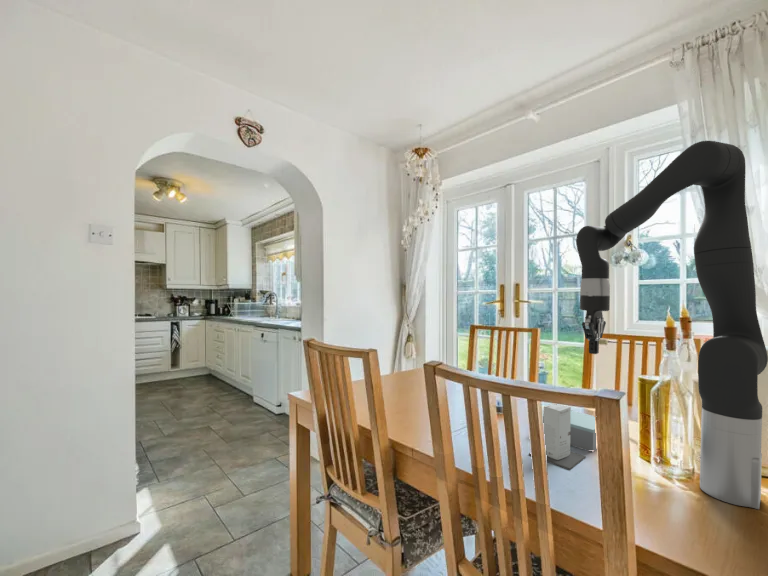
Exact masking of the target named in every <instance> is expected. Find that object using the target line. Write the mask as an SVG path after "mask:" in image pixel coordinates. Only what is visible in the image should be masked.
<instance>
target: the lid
mask: <svg viewBox="0 0 768 576" xmlns="http://www.w3.org/2000/svg"><path fill="white" fill-rule="evenodd" d="M594 416H595V415H592V414H587V413H583V412H580V411H575V410H572V409H571V424H570V425H571V426H570V427H574V428H577V429H581V430H584V431H588V432H591V433H594V432H595V417H594Z"/></svg>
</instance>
